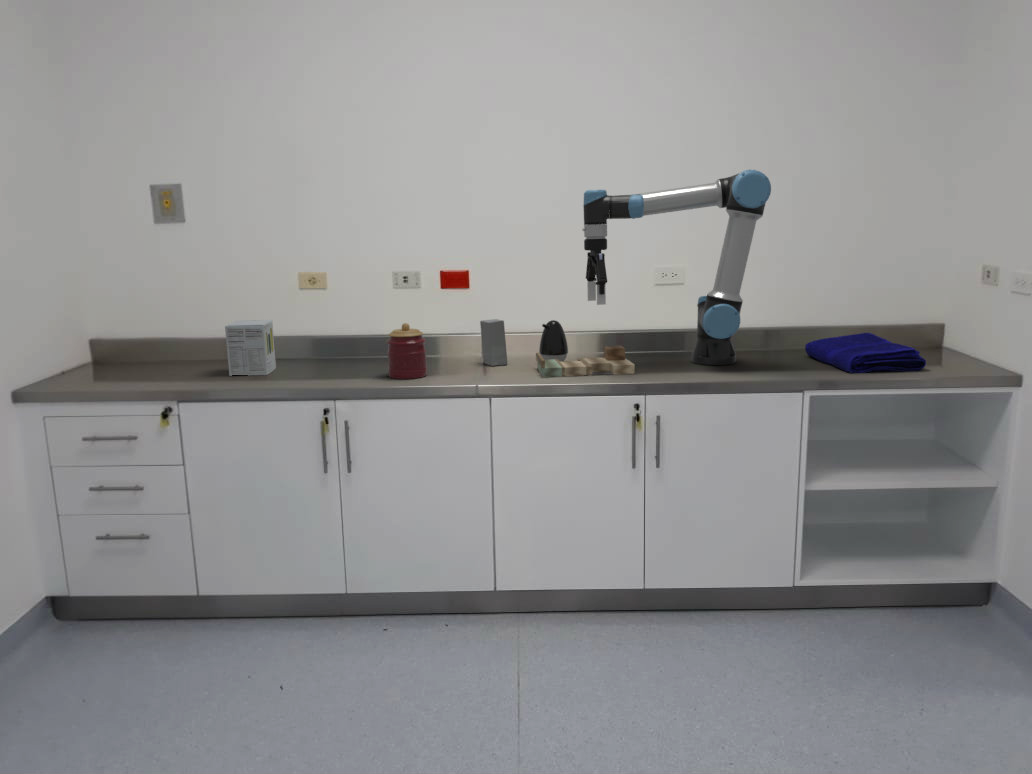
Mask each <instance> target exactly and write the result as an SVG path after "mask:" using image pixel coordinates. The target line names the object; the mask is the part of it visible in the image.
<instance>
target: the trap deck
mask: <svg viewBox="0 0 1032 774" xmlns="http://www.w3.org/2000/svg"><path fill="white" fill-rule="evenodd" d="M535 360H536V362H537V370H538V372H540V374H541V376H542V377H543V378H558V377H559V378H562V377H565V376H566V377H585V376H584V375H591V376H605V375H606V376H609V375H610V376H611V375H612V376H613V375H634V374H635V371H636V370H635V367H636V366H635V363H633V362H632V361H630V360H629V359H627V358H626V357H625V360H611V361H607V360H606V359H605V358H604V356H603V357H583V358H582V357H581V358H580V357H579V358H577V360H571V361H569V360H568V361H565V360H564V361H563V362H560V361H559V360H558V359H550V360H544V359H543V357H542V356H541V355H540V353H539V352H535Z"/></svg>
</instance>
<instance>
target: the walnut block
mask: <svg viewBox="0 0 1032 774" xmlns="http://www.w3.org/2000/svg"><path fill="white" fill-rule="evenodd" d="M603 357H604V358H605V359H606V360H607V361H611V360H625V358H626V348H625V347H624V346H623V345H605V346H604V345H603Z"/></svg>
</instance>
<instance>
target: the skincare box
mask: <svg viewBox="0 0 1032 774" xmlns="http://www.w3.org/2000/svg"><path fill="white" fill-rule="evenodd" d="M479 322H480V323H479V324H480V325H479V326H480V335H481V348H482V357H483V358H482V360H483V364H485V365H487V366H488V365H489V366H491V367H497V366H506V365H508V354H507V353H508V351H507V344H506V343H507V341H506V330H505V320H503V319H499V318H495V319H494V318H493V319H485V320H480V321H479Z"/></svg>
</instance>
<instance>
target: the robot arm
mask: <svg viewBox="0 0 1032 774" xmlns="http://www.w3.org/2000/svg"><path fill="white" fill-rule="evenodd" d="M771 193H772V186H771V181H770V179H769V177H768V176H767V175H766V174H765V173H763V172H762V171H760V170H756V169H746V170H743V171H741V172H738V173H737V174H734V175H731V176H728V177H723V178H717V180H716V181H714V182H710V183H705V184H697V185H691V186H689V185H688V186H685V187H676V188H669V189H663V190H656V191H649V192H643V193H635V194H622V195H620V194H619V195H618V194H617V195H608V193H607V190H606V189H588V190H585V192H583V205H582V207H583V225H584V226H583V228H582V232H583V234H584V238H585V239H584V240H583V242H584V245H583V247H584V251H587V262H586V271H585V279H586V280H587V302H591V301H593V302H594V301H596V305H598V306H600V305H607V304H606V298H607V297H606V296H607V295H606V285H607V284H608V277H607V269H606V263H605V261H606V260H605V256H606V255H605V253H602V251H607V249H608V239H607V238H606V237H607V236H608V220H615V219H616V220H617V219H618V220H619V219H620V220H622V219H623V220H625V219H632V220H633V219H640V218H643V217H645V216H653V215H659V214H666V213H674V212H681V211H687V210H693V209H702V208H709V207H718V208H719V209H723V208H725V212H726V213H727V214H728V222H727V225H726V226H727V227H726V230H725V234H724V239H723V244H722V248H721V252H720V257H719V262H718V267H717V269H716V275H715V279H714V284H713V287H712V288H713V289H712V290H711V291H709V292H708V293H707V294H706V295H701V296H699V297H698V299H697V305H696V306H697V323H696V324H697V327H696V331H697V332H696V334H697V335H696V341H695V345H694V347H693V349H692V353H691V359H690V361H691V362H692V363H694V364H698V365H706V366H708V365H709V366H727V365H732V364H735V363H736V362H737V355H736V352H735V349H734V348H735V347H734V344H733V342H732V336H734V335H735V334H736V333H737V331H738V330H739V328H740V326H741V310H742V306H743V301H744V300H743V298H742V297H741V296H740V293H741V290H742V289H741V288H742V285H743V281H744V277H745V272H746V268H747V265H748V264H747V262H748V258H749V254H750V250H751V246H752V242H753V238H754V232H755V230H756V229H755V228H756V224H757V221H758V220H760V219H761V218H762V217H763V215H764V212H765V207H766V203H767V201H768V200H769V198H770V196H771ZM588 251H589V252H588Z"/></svg>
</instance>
